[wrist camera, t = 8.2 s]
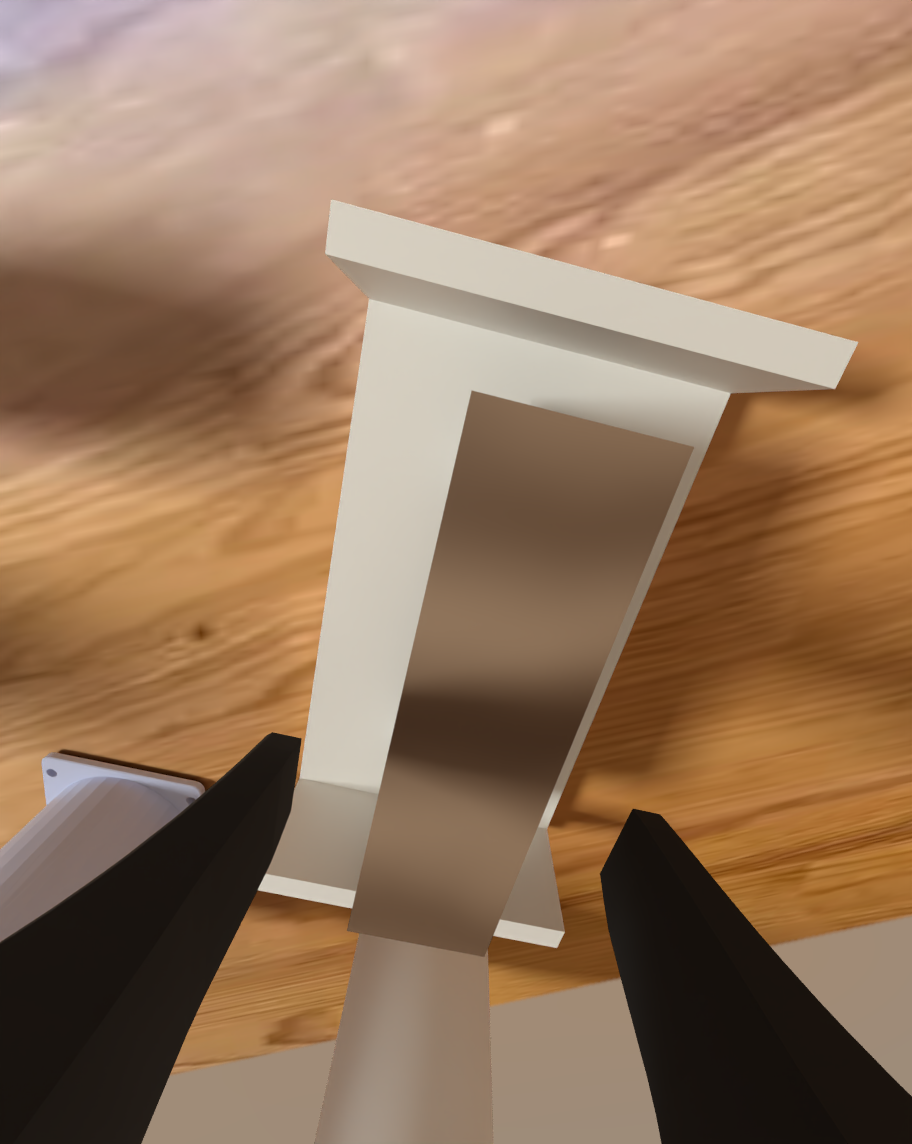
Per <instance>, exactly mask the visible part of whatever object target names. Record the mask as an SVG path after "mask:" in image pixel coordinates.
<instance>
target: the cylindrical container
mask: <svg viewBox="0 0 912 1144" xmlns="http://www.w3.org/2000/svg"><path fill="white" fill-rule="evenodd" d="M314 1144H493V1114H492V1077H491V1042H490V1007H489V972H488V949H487V952H486V954H485V957H481V956H476V955H471V954H466V953H460V952H455V951H450V950H445V949H439V948H434V947H429V946H424V945H418V944H413V943H408V942H403V941H398V940H392V939H387V938H382V937H377V936H371V935H366V934H361V933H359V937H358V942H357V946H356V951H355V956H354V960H353V965H352V970H351V974H350V979H349V984H348V988H347V993H346V998H345V1002H344V1007H343V1012H342V1016H341V1021H340V1026H339V1030H338V1035H337V1040H336V1044H335V1049H334V1054H333V1058H332V1063H331V1068H330V1072H329V1077H328V1082H327V1086H326V1091H325V1096H324V1101H323V1105H322V1110H321V1115H320V1119H319V1124H318V1128H317V1133H316V1138H315V1142H314Z"/></svg>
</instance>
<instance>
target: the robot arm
mask: <svg viewBox="0 0 912 1144" xmlns="http://www.w3.org/2000/svg"><path fill="white" fill-rule="evenodd" d="M300 746H301V738H296V737H292V736H287V735H282V734H278V733H273V732H272V733H271V734H269V735H267V736H266V737H265V738H264V739H263V740H262V741H261V742H260V743H258V744H257V745H256V746H255V747H254V748H253V749H252V750H251V751H250V752H249V753H248V754H247V755H246V756H245V757H244V758H243V759H242V760H241V761H239V762H238V763H237V764H236V765H235V766H234V767H233V768H232V769H231V770H230V771H228V772H227V773H226V774H225V775H224V776H223V777H222V778H221V779H219V780H218V781H217V782H216V783H215V784H214V785H213V786H211V787H210V788H209V789H208V790H207V791H206V792H205V788H204V786H203V785H202V784H201V783H200V782H197V781H193V780H188V779H183V778H178V777H174V776H169V775H164V774H159V773H154V772H149V771H144V770H139V769H134V768H129V767H124V766H120V765H115V764H110V763H105V762H100V761H95V760H90V759H85V758H80V757H75V756H70V755H66V754H61V753H49V754H48V755H47V756H46V757H44V758H43V759H42V771H43V779H44V787H45V796H46V804H47V806H46V807H45V808H44V809H42V810H41V811H40V812H39V813H38V814H37V815H36V816H35V817H34V818H33V819H32V820H31V821H30V822H29V823H28V824H27V825H26V826H24V827H23V828H22V829H21V830H20V831H19V832H18V833H17V834H16V835H15V836H14V837H13V838H12V839H11V840H10V841H9V842H7V843H6V844H5V845H4V846H3V847H2V848H1V849H0V1144H141V1143H142V1140H143V1138H144V1136H145V1133H146V1131H147V1128H148V1126H149V1123H150V1121H151V1118H152V1116H153V1114H154V1111H155V1109H156V1106H157V1104H158V1102H159V1099H160V1097H161V1095H162V1092H163V1090H164V1087H165V1085H166V1083H167V1080H168V1078H169V1075H170V1073H171V1071H172V1068H173V1066H174V1064H175V1061H176V1059H177V1056H178V1054H179V1052H180V1049H181V1047H182V1044H183V1042H184V1040H185V1037H186V1035H187V1033H188V1030H189V1028H190V1026H191V1024H192V1022H193V1020H194V1017H195V1015H196V1013H197V1011H198V1009H199V1007H200V1005H201V1002H202V1000H203V998H204V996H205V994H206V992H207V990H208V988H209V986H210V984H211V982H212V980H213V978H214V976H215V974H216V972H217V970H218V968H219V966H220V964H221V962H222V960H223V958H224V956H225V954H226V952H227V950H228V948H229V946H230V944H231V942H232V940H233V938H234V936H235V934H236V932H237V930H238V928H239V926H240V924H241V922H242V920H243V918H244V916H245V914H246V912H247V910H248V908H249V906H250V904H251V902H252V900H253V898H254V896H255V894H256V892H257V890H258V888H259V886H260V884H261V882H262V880H263V878H264V876H265V874H266V872H267V870H268V868H269V866H270V864H271V861H272V859H273V856H274V854H275V851H276V849H277V846H278V844H279V841H280V838H281V836H282V833H283V831H284V828H285V825H286V823H287V820H288V818H289V815H290V812H291V808H292V801H293V794H294V787H295V780H296V773H297V766H298V760H299V753H300ZM600 876H601V883H602V891H603V898H604V905H605V911H606V917H607V923H608V929H609V933H610V937H611V941H612V946H613V949H614V953H615V957H616V961H617V965H618V969H619V973H620V977H621V980H622V984H623V988H624V992H625V995H626V999H627V1003H628V1007H629V1010H630V1014H631V1018H632V1021H633V1025H634V1029H635V1033H636V1037H637V1041H638V1044H639V1048H640V1052H641V1056H642V1059H643V1063H644V1067H645V1071H646V1074H647V1078H648V1082H649V1086H650V1091H651V1095H652V1100H653V1104H654V1108H655V1112H656V1117H657V1122H658V1126H659V1132H660V1138H661V1143H662V1144H912V1096H911V1095H910V1094H909V1093H907V1092H906V1091H905V1090H904V1088H903V1087H901V1086H900V1085H899V1084H898V1083H897V1082H896V1081H895V1080H894V1079H893V1078H892V1077H891V1076H890V1075H889V1074H888V1073H887V1072H886V1071H885V1070H884V1068H883V1067H882V1066H881V1065H880V1064H879V1063H877V1061H876V1060H875V1059H874V1058H873V1057H872V1056H871V1055H870V1054H869V1053H868V1052H867V1051H866V1050H865V1049H864V1048H863V1047H862V1046H861V1045H860V1044H859V1043H858V1042H857V1041H856V1040H855V1039H854V1038H853V1037H852V1036H851V1035H850V1034H849V1033H848V1032H847V1031H846V1029H845V1028H844V1027H843V1026H842V1025H841V1024H840V1023H839V1022H838V1021H837V1020H836V1019H835V1018H834V1017H833V1016H832V1015H831V1014H830V1012H829V1011H828V1010H827V1009H826V1008H825V1007H824V1006H823V1005H822V1004H821V1003H820V1002H819V1001H818V1000H817V998H816V997H815V996H814V995H813V994H812V993H811V992H810V991H809V990H808V988H807V987H806V986H805V985H804V984H803V983H802V982H801V981H800V980H799V978H798V977H797V976H796V975H795V974H794V973H793V972H792V971H791V969H790V968H789V967H788V966H787V965H786V964H785V963H784V962H783V961H782V960H781V958H780V957H779V956H778V955H777V954H776V953H775V952H774V950H773V949H772V948H771V947H770V946H769V944H768V943H767V942H766V941H765V940H764V939H763V938H762V936H761V935H760V934H759V933H758V932H757V931H756V929H755V928H754V927H753V926H752V925H751V923H750V922H749V921H748V920H747V919H746V917H745V916H744V915H743V914H742V913H741V912H740V910H739V909H738V908H737V907H736V906H735V904H734V903H733V902H732V901H731V899H730V898H729V897H728V896H727V895H726V893H725V892H724V891H723V890H722V889H721V887H720V886H719V885H718V884H717V882H716V881H715V880H714V879H713V878H712V876H711V875H710V874H709V873H708V871H707V870H706V869H705V868H704V867H703V865H702V864H701V863H700V862H699V860H698V859H697V858H696V857H695V856H694V854H693V853H692V852H691V851H690V849H689V848H688V847H687V846H686V845H685V843H684V842H683V841H682V840H681V838H680V837H679V836H678V835H677V834H676V832H675V831H674V830H673V829H672V828H671V827H670V825H669V824H668V823H667V822H666V821H665V820H664V818H663V817H662V816H661V815H660V814H656V813H651V812H646V811H641V810H637V809H633V810H632V812H631V814H630V815H629V817H628V819H627V821H626V823H625V825H624V827H623V829H622V831H621V833H620V835H619V837H618V839H617V841H616V843H615V845H614V847H613V849H612V851H611V853H610V855H609V857H608V859H607V861H606V863H605V865H604V867H603V869H602V871H601V873H600Z"/></svg>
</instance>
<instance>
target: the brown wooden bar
mask: <svg viewBox="0 0 912 1144" xmlns="http://www.w3.org/2000/svg"><path fill="white" fill-rule="evenodd" d="M693 449H694V447H692V446H688V445H685V444H681V443H677V442H673V441H669V440H665V439H661V438H657V437H653V436H649V435H645V434H641V433H637V432H633V431H629V430H626V429H622V428H618V427H614V426H610V425H606V424H602V423H598V422H594V421H590V420H586V419H582V418H578V417H574V416H570V415H567V414H563V413H559V412H555V411H551V410H547V409H543V408H539V407H535V406H531V405H527V404H523V403H519V402H515V401H512V400H508V399H504V398H500V397H496V396H492V395H488V394H484V393H480V392H476V391H471V395H470V399H469V404H468V408H467V412H466V417H465V421H464V425H463V430H462V434H461V438H460V443H459V447H458V451H457V456H456V460H455V464H454V469H453V473H452V478H451V482H450V486H449V491H448V495H447V499H446V504H445V508H444V512H443V517H442V521H441V525H440V530H439V534H438V538H437V543H436V547H435V551H434V556H433V560H432V564H431V569H430V573H429V577H428V582H427V586H426V590H425V595H424V599H423V603H422V608H421V612H420V616H419V621H418V625H417V629H416V634H415V638H414V642H413V647H412V651H411V655H410V660H409V664H408V668H407V673H406V677H405V681H404V686H403V690H402V694H401V699H400V703H399V707H398V712H397V716H396V720H395V725H394V729H393V734H392V738H391V742H390V747H389V751H388V755H387V760H386V764H385V768H384V773H383V777H382V781H381V786H380V790H379V794H378V799H377V803H376V807H375V812H374V816H373V820H372V825H371V829H370V833H369V838H368V842H367V846H366V851H365V855H364V859H363V864H362V868H361V872H360V877H359V881H358V885H357V890H356V894H355V898H354V903H353V907H352V911H351V916H350V920H349V924H348V929H347V931H350V932H356V933H361V934H366V935H371V936H377V937H382V938H387V939H392V940H398V941H403V942H408V943H413V944H418V945H424V946H429V947H434V948H439V949H445V950H450V951H455V952H460V953H466V954H471V955H476V956H481V957H485V954H486V952H487V949H488V947H489V945H490V942H491V940H492V937H493V935H494V932H495V930H496V928H497V925H498V923H499V920H500V918H501V915H502V913H503V911H504V908H505V906H506V903H507V901H508V898H509V896H510V894H511V891H512V889H513V886H514V884H515V881H516V879H517V877H518V874H519V872H520V869H521V867H522V864H523V862H524V860H525V857H526V855H527V852H528V850H529V847H530V845H531V843H532V840H533V838H534V835H535V833H536V830H537V828H538V826H539V823H540V821H541V818H542V816H543V813H544V811H545V809H546V806H547V804H548V801H549V799H550V796H551V794H552V792H553V789H554V787H555V784H556V782H557V779H558V777H559V775H560V772H561V770H562V767H563V765H564V762H565V760H566V758H567V755H568V753H569V750H570V748H571V745H572V743H573V741H574V738H575V736H576V733H577V731H578V728H579V726H580V724H581V721H582V719H583V716H584V714H585V711H586V709H587V707H588V704H589V702H590V699H591V697H592V694H593V692H594V690H595V687H596V685H597V682H598V680H599V677H600V675H601V673H602V670H603V668H604V665H605V663H606V660H607V658H608V656H609V653H610V651H611V648H612V646H613V643H614V641H615V639H616V636H617V634H618V631H619V629H620V626H621V624H622V622H623V619H624V617H625V614H626V612H627V609H628V607H629V605H630V602H631V600H632V597H633V595H634V592H635V590H636V588H637V585H638V583H639V580H640V578H641V575H642V573H643V571H644V568H645V566H646V563H647V561H648V558H649V556H650V554H651V551H652V549H653V546H654V544H655V541H656V539H657V537H658V534H659V532H660V529H661V527H662V524H663V522H664V520H665V517H666V515H667V512H668V510H669V507H670V505H671V503H672V500H673V498H674V495H675V493H676V490H677V488H678V486H679V483H680V481H681V478H682V476H683V473H684V471H685V469H686V466H687V464H688V461H689V459H690V456H691V454H692V452H693Z"/></svg>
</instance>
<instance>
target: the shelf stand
mask: <svg viewBox="0 0 912 1144" xmlns="http://www.w3.org/2000/svg"><path fill="white" fill-rule="evenodd" d="M325 254H326V255H327V256H328V257H329V258H330V259H331V260H332V261H333V262H334V263H335V264H336V265H337V266H338V267H339V269H340V270H341V271H342V272H343V273H344V274H345V275H346V276H347V277H348V278H349V279H350V280H351V281H352V282H353V283H354V284H355V285H356V286H357V287H358V288H359V289H360V290H361V291H362V292H363V293H364V294H365V295H366V296H367V297H368V298H369V304H368V311H367V318H366V325H365V332H364V338H363V345H362V352H361V359H360V366H359V373H358V380H357V387H356V394H355V400H354V407H353V414H352V421H351V428H350V435H349V442H348V449H347V456H346V462H345V469H344V476H343V483H342V490H341V497H340V504H339V511H338V518H337V524H336V531H335V538H334V545H333V552H332V559H331V566H330V573H329V580H328V586H327V593H326V600H325V607H324V614H323V621H322V628H321V635H320V642H319V649H318V655H317V662H316V669H315V676H314V683H313V690H312V697H311V704H310V711H309V717H308V724H307V731H306V738H305V745H304V752H303V759H302V766H301V773H300V779H299V781H298V783H297V785H296V787H295V789H294V794H293V801H292V808H291V812H290V815H289V818H288V820H287V823H286V825H285V828H284V831H283V833H282V836H281V838H280V841H279V844H278V846H277V849H276V851H275V854H274V856H273V859H272V861H271V864H270V866H269V868H268V870H267V872H266V874H265V876H264V878H263V880H262V882H261V884H260V886H259V888H258V890H259V891H264V892H269V893H274V894H280V895H285V896H290V897H295V898H300V899H306V900H311V901H316V902H321V903H326V904H331V905H337V906H342V907H347V908H352V907H353V903H354V898H355V894H356V890H357V885H358V881H359V877H360V872H361V868H362V864H363V859H364V855H365V851H366V846H367V842H368V838H369V833H370V829H371V825H372V820H373V816H374V812H375V807H376V803H377V799H378V794H379V790H380V786H381V781H382V777H383V773H384V768H385V764H386V760H387V755H388V751H389V747H390V742H391V738H392V734H393V729H394V725H395V720H396V716H397V712H398V707H399V703H400V699H401V694H402V690H403V686H404V681H405V677H406V673H407V668H408V664H409V660H410V655H411V651H412V647H413V642H414V638H415V634H416V629H417V625H418V621H419V616H420V612H421V608H422V603H423V599H424V595H425V590H426V586H427V582H428V577H429V573H430V569H431V564H432V560H433V556H434V551H435V547H436V543H437V538H438V534H439V530H440V525H441V521H442V517H443V512H444V508H445V504H446V499H447V495H448V491H449V486H450V482H451V478H452V473H453V469H454V464H455V460H456V456H457V451H458V447H459V443H460V438H461V434H462V430H463V425H464V421H465V417H466V412H467V408H468V404H469V399H470V395H471V391H476V392H480V393H484V394H488V395H492V396H496V397H500V398H504V399H508V400H512V401H515V402H519V403H523V404H527V405H531V406H535V407H539V408H543V409H547V410H551V411H555V412H559V413H563V414H567V415H570V416H574V417H578V418H582V419H586V420H590V421H594V422H598V423H602V424H606V425H610V426H614V427H618V428H622V429H626V430H629V431H633V432H637V433H641V434H645V435H649V436H653V437H657V438H661V439H665V440H669V441H673V442H677V443H681V444H685V445H688V446H692V447H694V449H693V452H692V454H691V456H690V459H689V461H688V464H687V466H686V469H685V471H684V473H683V476H682V478H681V481H680V483H679V486H678V488H677V490H676V493H675V495H674V498H673V500H672V503H671V505H670V507H669V510H668V512H667V515H666V517H665V520H664V522H663V524H662V527H661V529H660V532H659V534H658V537H657V539H656V541H655V544H654V546H653V549H652V551H651V554H650V556H649V558H648V561H647V563H646V566H645V568H644V571H643V573H642V575H641V578H640V580H639V583H638V585H637V588H636V590H635V592H634V595H633V597H632V600H631V602H630V605H629V607H628V609H627V612H626V614H625V617H624V619H623V622H622V624H621V626H620V629H619V631H618V634H617V636H616V639H615V641H614V643H613V646H612V648H611V651H610V653H609V656H608V658H607V660H606V663H605V665H604V668H603V670H602V673H601V675H600V677H599V680H598V682H597V685H596V687H595V690H594V692H593V694H592V697H591V699H590V702H589V704H588V707H587V709H586V711H585V714H584V716H583V719H582V721H581V724H580V726H579V728H578V731H577V733H576V736H575V738H574V741H573V743H572V745H571V748H570V750H569V753H568V755H567V758H566V760H565V762H564V765H563V767H562V770H561V772H560V775H559V777H558V779H557V782H556V784H555V787H554V789H553V792H552V794H551V796H550V799H549V801H548V804H547V806H546V809H545V811H544V813H543V816H542V818H541V821H540V823H539V826H538V828H537V830H536V833H535V835H534V838H533V840H532V843H531V845H530V847H529V850H528V852H527V855H526V857H525V860H524V862H523V864H522V867H521V869H520V872H519V874H518V877H517V879H516V881H515V884H514V886H513V889H512V891H511V894H510V896H509V898H508V901H507V903H506V906H505V908H504V911H503V913H502V915H501V918H500V920H499V923H498V925H497V928H496V930H495V932H494V935H493V936H497V937H502V938H507V939H513V940H518V941H523V942H528V943H533V944H538V945H544V946H549V947H554V948H557V947H558V945H559V943H560V941H561V939H562V937H563V935H564V933H565V930H564V924H563V918H562V913H561V907H560V901H559V896H558V890H557V884H556V878H555V873H554V867H553V861H552V856H551V850H550V844H549V838H548V833H547V828H548V825H549V823H550V821H551V818H552V816H553V814H554V811H555V809H556V806H557V804H558V802H559V799H560V797H561V795H562V792H563V790H564V787H565V785H566V783H567V780H568V778H569V776H570V773H571V771H572V769H573V766H574V764H575V761H576V759H577V757H578V754H579V752H580V750H581V747H582V745H583V742H584V740H585V738H586V735H587V733H588V731H589V728H590V726H591V724H592V721H593V719H594V716H595V714H596V712H597V709H598V707H599V705H600V702H601V700H602V697H603V695H604V693H605V690H606V688H607V686H608V683H609V681H610V679H611V676H612V674H613V671H614V669H615V667H616V664H617V662H618V660H619V657H620V655H621V652H622V650H623V648H624V645H625V643H626V641H627V638H628V636H629V634H630V631H631V629H632V626H633V624H634V622H635V619H636V617H637V615H638V612H639V610H640V607H641V605H642V603H643V600H644V598H645V596H646V593H647V591H648V589H649V586H650V584H651V581H652V579H653V577H654V574H655V572H656V570H657V567H658V565H659V562H660V560H661V558H662V555H663V553H664V551H665V548H666V546H667V544H668V541H669V539H670V536H671V534H672V532H673V529H674V527H675V525H676V522H677V520H678V517H679V515H680V513H681V510H682V508H683V506H684V503H685V501H686V499H687V496H688V494H689V491H690V489H691V487H692V484H693V482H694V480H695V477H696V475H697V472H698V470H699V468H700V465H701V463H702V461H703V458H704V456H705V454H706V451H707V449H708V446H709V444H710V442H711V439H712V437H713V435H714V432H715V430H716V427H717V425H718V423H719V420H720V418H721V416H722V413H723V411H724V409H725V406H726V404H727V401H728V399H729V397H730V394H731V393H752V392H776V391H801V390H825V389H835V388H836V386H837V384H838V382H839V380H840V378H841V376H842V374H843V372H844V370H845V368H846V366H847V364H848V362H849V360H850V358H851V356H852V354H853V352H854V350H855V348H856V346H857V344H858V342H855V341H852V340H848V339H844V338H841V337H837V336H833V335H830V334H826V333H822V332H819V331H815V330H811V329H807V328H804V327H800V326H796V325H793V324H789V323H785V322H782V321H778V320H774V319H771V318H767V317H763V316H760V315H756V314H752V313H748V312H745V311H741V310H737V309H734V308H730V307H726V306H723V305H719V304H715V303H712V302H708V301H704V300H701V299H697V298H693V297H690V296H686V295H682V294H678V293H675V292H671V291H667V290H664V289H660V288H656V287H653V286H649V285H645V284H642V283H638V282H634V281H631V280H627V279H623V278H619V277H616V276H612V275H608V274H605V273H601V272H597V271H594V270H590V269H586V268H583V267H579V266H575V265H572V264H568V263H564V262H561V261H557V260H553V259H549V258H546V257H542V256H538V255H535V254H531V253H527V252H524V251H520V250H516V249H513V248H509V247H505V246H502V245H498V244H494V243H490V242H487V241H483V240H479V239H476V238H472V237H468V236H465V235H461V234H457V233H454V232H450V231H446V230H443V229H439V228H435V227H431V226H428V225H424V224H420V223H417V222H413V221H409V220H406V219H402V218H398V217H395V216H391V215H387V214H384V213H380V212H376V211H373V210H369V209H365V208H361V207H358V206H354V205H350V204H347V203H343V202H339V201H336V200H332V199H331V206H330V215H329V224H328V233H327V242H326V251H325Z"/></svg>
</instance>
